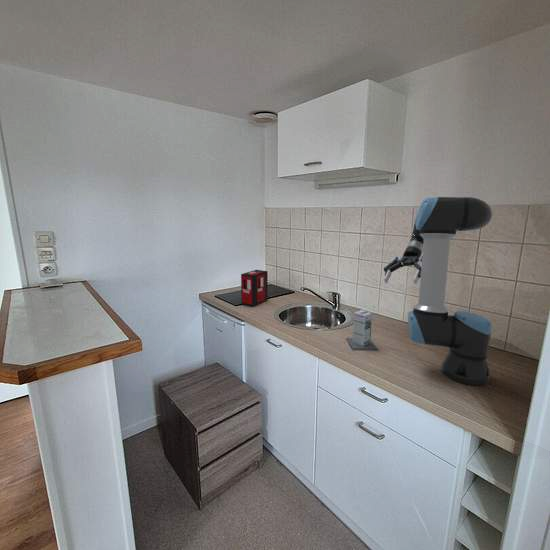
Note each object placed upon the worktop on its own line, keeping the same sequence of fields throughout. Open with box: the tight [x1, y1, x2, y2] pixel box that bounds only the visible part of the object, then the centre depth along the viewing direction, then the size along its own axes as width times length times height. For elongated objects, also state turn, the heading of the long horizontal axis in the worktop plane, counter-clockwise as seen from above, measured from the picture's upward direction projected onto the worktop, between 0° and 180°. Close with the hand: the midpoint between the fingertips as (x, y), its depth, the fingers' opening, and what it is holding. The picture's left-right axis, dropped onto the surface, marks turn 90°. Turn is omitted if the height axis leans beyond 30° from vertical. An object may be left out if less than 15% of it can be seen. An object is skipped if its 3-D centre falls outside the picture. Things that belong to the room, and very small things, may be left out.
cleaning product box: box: [240, 269, 269, 308], centre depth 197 cm, size 16×9×20 cm, turn 148°
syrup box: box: [352, 309, 373, 346], centre depth 137 cm, size 6×6×14 cm
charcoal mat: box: [345, 337, 378, 351], centre depth 139 cm, size 11×11×1 cm
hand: (399, 281), depth 139 cm, fingers open, 13 cm apart
